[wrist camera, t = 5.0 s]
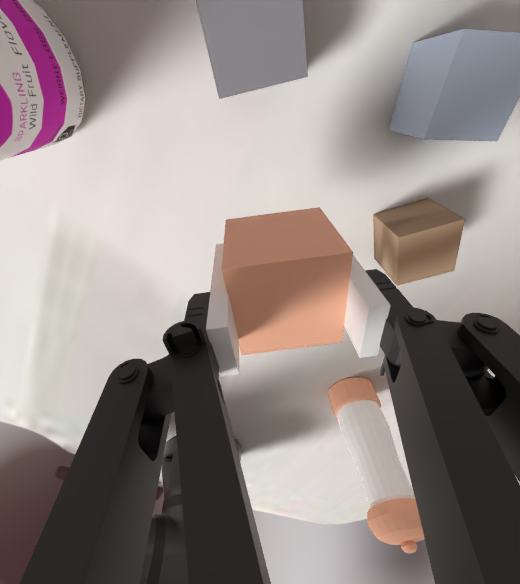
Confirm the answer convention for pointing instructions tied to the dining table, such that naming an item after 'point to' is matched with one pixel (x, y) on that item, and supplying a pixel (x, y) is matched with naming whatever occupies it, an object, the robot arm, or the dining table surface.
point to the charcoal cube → (253, 43)
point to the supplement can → (35, 81)
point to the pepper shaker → (377, 463)
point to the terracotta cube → (286, 280)
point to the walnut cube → (417, 240)
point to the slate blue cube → (459, 86)
